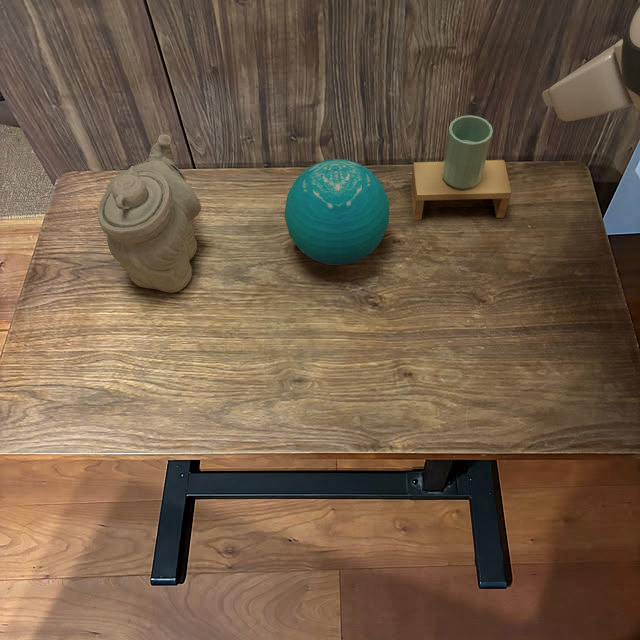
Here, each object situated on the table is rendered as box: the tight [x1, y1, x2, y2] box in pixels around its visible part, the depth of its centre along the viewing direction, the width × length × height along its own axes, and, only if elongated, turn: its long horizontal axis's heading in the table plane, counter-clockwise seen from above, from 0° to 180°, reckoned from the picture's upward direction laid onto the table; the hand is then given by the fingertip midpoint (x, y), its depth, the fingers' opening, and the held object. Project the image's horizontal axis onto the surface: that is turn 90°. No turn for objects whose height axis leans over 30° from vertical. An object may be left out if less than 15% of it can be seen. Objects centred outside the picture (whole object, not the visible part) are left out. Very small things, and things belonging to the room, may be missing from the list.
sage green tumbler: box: [442, 114, 494, 189], centre depth 91 cm, size 6×6×9 cm
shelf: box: [410, 159, 512, 221], centre depth 97 cm, size 14×7×6 cm, turn 90°
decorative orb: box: [284, 158, 390, 266], centre depth 89 cm, size 15×15×15 cm
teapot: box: [97, 133, 202, 293], centre depth 88 cm, size 16×15×19 cm
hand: (575, 78), depth 70 cm, fingers open, 8 cm apart
